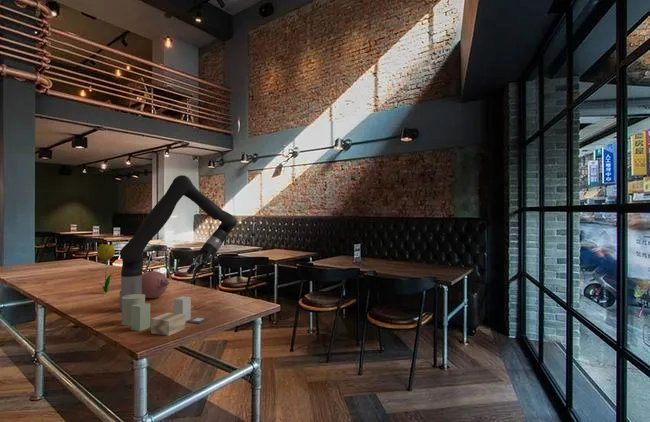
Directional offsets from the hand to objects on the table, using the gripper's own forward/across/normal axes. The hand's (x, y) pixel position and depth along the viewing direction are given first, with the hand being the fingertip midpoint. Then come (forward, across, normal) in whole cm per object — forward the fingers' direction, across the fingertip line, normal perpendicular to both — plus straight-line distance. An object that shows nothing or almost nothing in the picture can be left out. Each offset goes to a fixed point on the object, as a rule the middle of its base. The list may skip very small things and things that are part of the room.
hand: (192, 272), depth 162 cm
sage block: (+32, +3, -4) cm, 33 cm away
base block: (+29, +14, +2) cm, 32 cm away
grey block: (+21, +4, +8) cm, 23 cm away
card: (+19, +11, +12) cm, 25 cm away
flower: (+17, -78, -8) cm, 81 cm away
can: (+30, -8, -5) cm, 32 cm away
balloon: (+10, -44, +7) cm, 46 cm away
